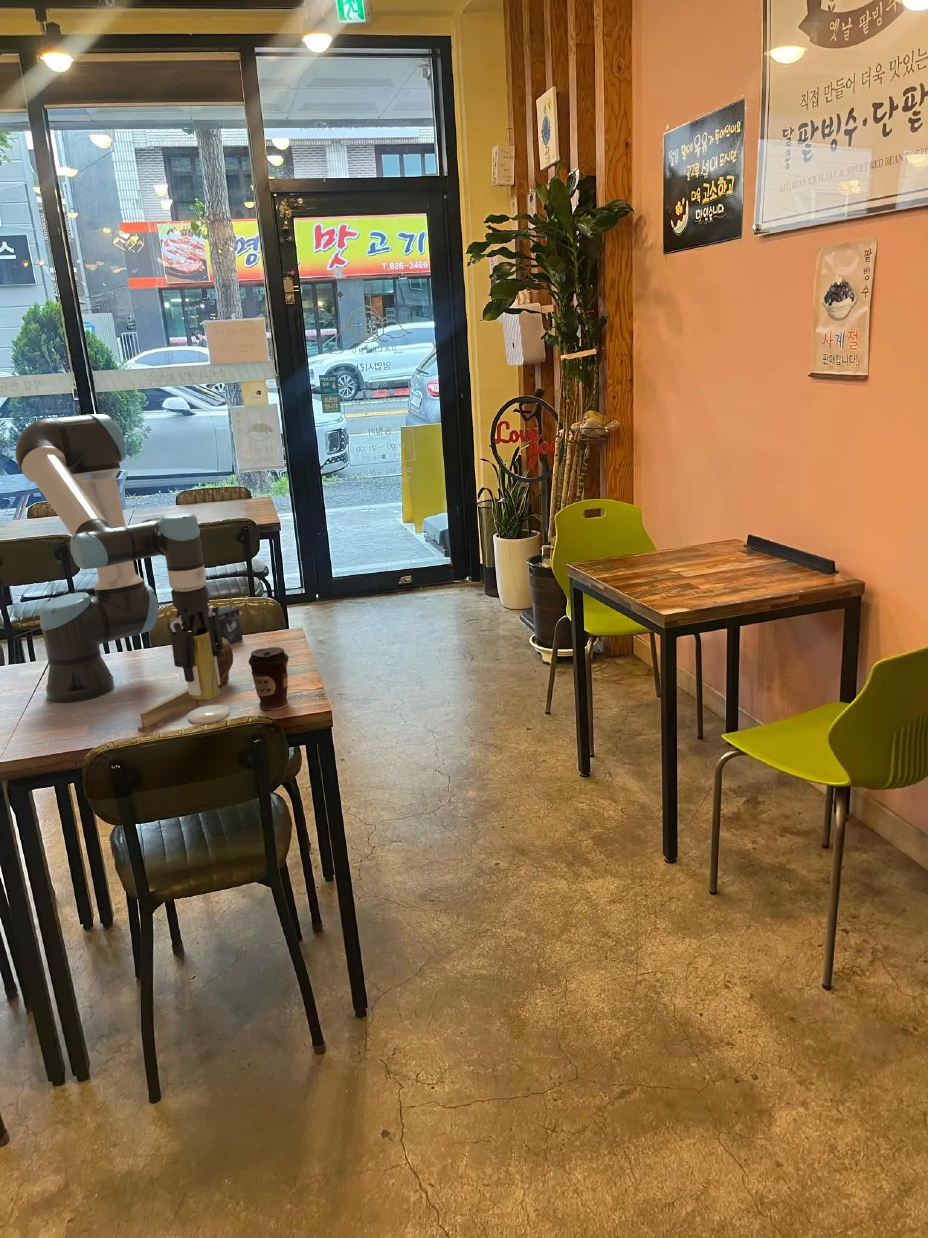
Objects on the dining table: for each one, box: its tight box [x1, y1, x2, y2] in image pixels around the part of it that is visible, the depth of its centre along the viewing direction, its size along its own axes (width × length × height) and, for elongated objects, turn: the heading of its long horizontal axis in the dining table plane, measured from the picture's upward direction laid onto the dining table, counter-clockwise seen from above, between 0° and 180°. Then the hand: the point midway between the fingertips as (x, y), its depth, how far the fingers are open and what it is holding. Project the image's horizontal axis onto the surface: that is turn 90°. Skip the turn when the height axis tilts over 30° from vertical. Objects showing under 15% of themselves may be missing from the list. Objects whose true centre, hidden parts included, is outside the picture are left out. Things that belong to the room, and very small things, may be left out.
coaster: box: [186, 704, 230, 725], centre depth 198 cm, size 9×9×1 cm
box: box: [218, 606, 243, 646], centre depth 246 cm, size 9×6×10 cm, turn 147°
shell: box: [187, 637, 234, 689], centre depth 215 cm, size 11×11×12 cm
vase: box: [189, 630, 221, 700], centre depth 194 cm, size 6×6×14 cm
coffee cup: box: [248, 646, 290, 711], centre depth 199 cm, size 9×8×13 cm
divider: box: [137, 688, 209, 733], centre depth 199 cm, size 3×19×4 cm, turn 155°
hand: (204, 689), depth 196 cm, fingers closed on vase, 6 cm apart
